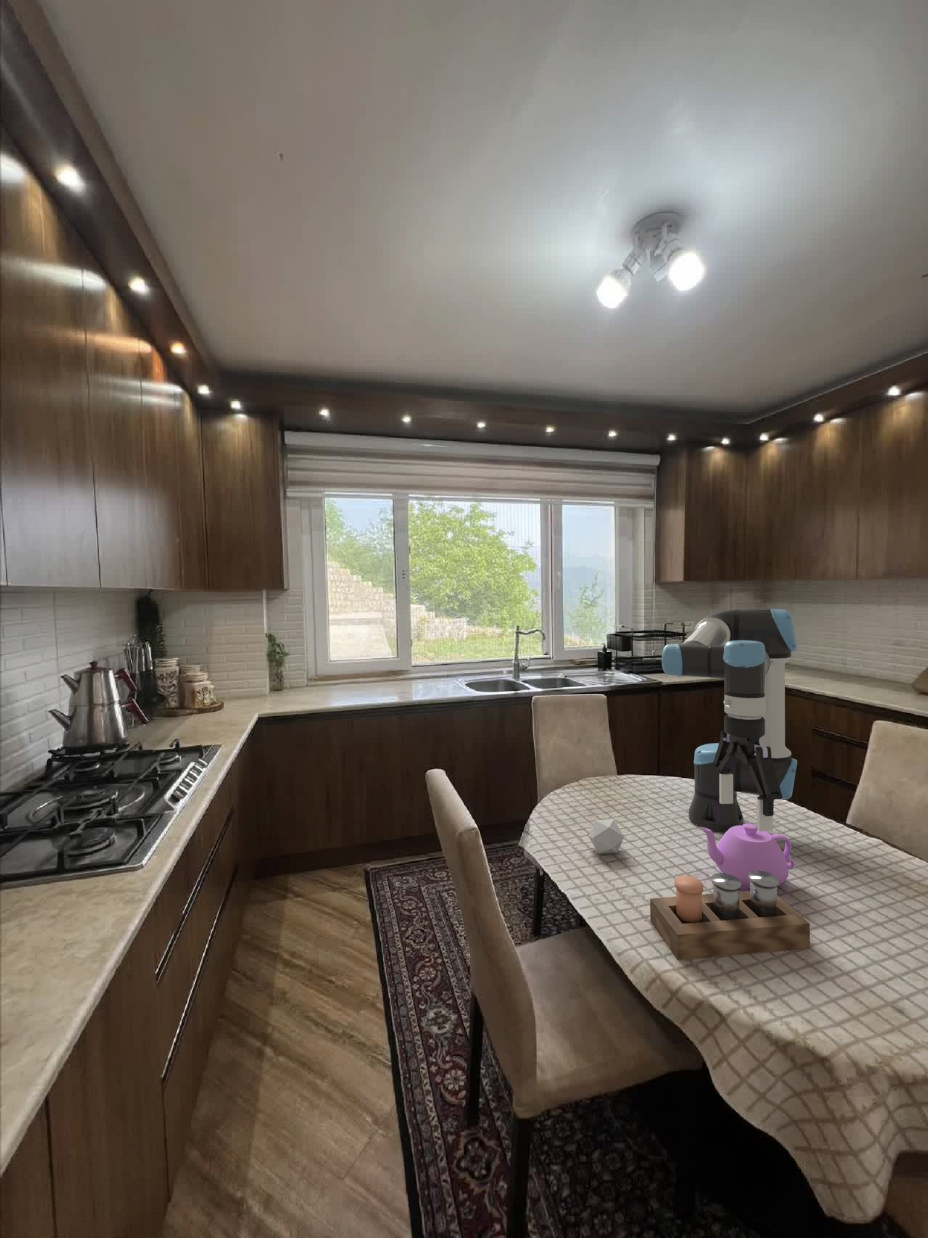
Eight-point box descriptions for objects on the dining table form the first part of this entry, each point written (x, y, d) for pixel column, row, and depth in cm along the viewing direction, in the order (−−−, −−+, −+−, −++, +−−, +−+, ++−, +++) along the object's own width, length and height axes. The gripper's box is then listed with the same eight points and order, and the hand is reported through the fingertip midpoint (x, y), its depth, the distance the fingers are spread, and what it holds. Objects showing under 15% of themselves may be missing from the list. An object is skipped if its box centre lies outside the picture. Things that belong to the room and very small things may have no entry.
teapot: (712, 899, 120) (712, 840, 119) (688, 864, 135) (687, 812, 135) (812, 900, 118) (812, 841, 118) (776, 864, 134) (776, 812, 133)
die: (617, 865, 137) (633, 829, 140) (586, 846, 139) (602, 811, 141) (609, 860, 145) (623, 827, 148) (580, 843, 147) (595, 810, 149)
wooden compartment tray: (769, 911, 115) (769, 889, 114) (809, 948, 103) (809, 923, 103) (650, 921, 113) (650, 898, 112) (677, 960, 101) (677, 934, 100)
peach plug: (694, 906, 110) (694, 875, 109) (708, 922, 104) (708, 889, 104) (670, 908, 109) (669, 876, 109) (682, 924, 104) (682, 891, 104)
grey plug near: (767, 900, 111) (767, 869, 111) (784, 916, 106) (784, 883, 105) (742, 902, 111) (742, 871, 110) (759, 918, 105) (759, 885, 105)
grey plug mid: (731, 903, 110) (731, 872, 110) (747, 919, 105) (747, 886, 105) (706, 905, 110) (706, 874, 110) (721, 921, 105) (721, 888, 104)
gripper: (696, 703, 121) (697, 794, 122) (764, 731, 96) (764, 844, 97) (727, 702, 121) (728, 792, 122) (804, 729, 96) (803, 842, 97)
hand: (744, 816), depth 109 cm, fingers open, 13 cm apart
